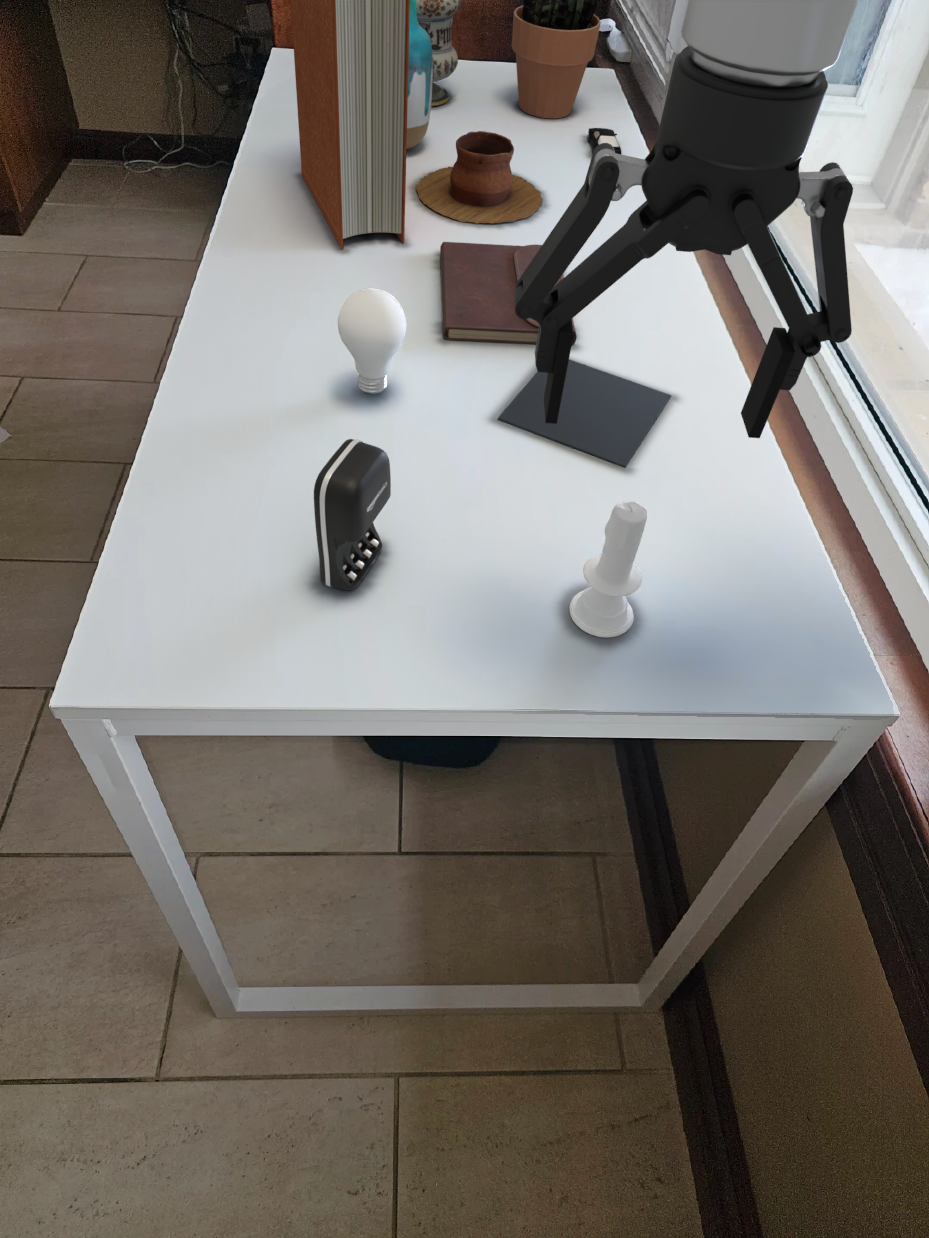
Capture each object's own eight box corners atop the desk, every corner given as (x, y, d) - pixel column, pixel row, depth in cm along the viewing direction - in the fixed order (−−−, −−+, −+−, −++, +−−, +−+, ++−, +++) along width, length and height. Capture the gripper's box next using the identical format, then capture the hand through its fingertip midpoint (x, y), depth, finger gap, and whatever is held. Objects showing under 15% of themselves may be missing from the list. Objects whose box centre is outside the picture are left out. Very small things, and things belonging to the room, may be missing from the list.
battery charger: (359, 601, 71) (356, 496, 62) (317, 586, 72) (309, 480, 63) (394, 547, 75) (397, 441, 67) (355, 533, 76) (352, 427, 67)
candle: (560, 624, 71) (587, 516, 62) (580, 581, 74) (608, 473, 65) (623, 647, 70) (659, 540, 61) (640, 602, 73) (677, 495, 64)
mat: (671, 396, 93) (671, 395, 93) (625, 467, 85) (625, 466, 85) (552, 355, 97) (552, 353, 96) (497, 419, 88) (497, 417, 88)
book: (404, 243, 111) (411, -44, 88) (341, 250, 108) (332, -44, 86) (356, 168, 124) (351, -99, 101) (299, 172, 122) (282, -100, 99)
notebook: (442, 339, 97) (443, 323, 95) (440, 253, 110) (440, 238, 108) (575, 346, 98) (578, 330, 97) (557, 260, 111) (559, 245, 109)
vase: (396, 126, 135) (398, -22, 121) (444, 149, 131) (452, -2, 116) (344, 142, 130) (339, -11, 115) (392, 167, 125) (394, 11, 111)
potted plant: (507, 89, 149) (526, -96, 130) (586, 99, 149) (616, -85, 130) (501, 119, 140) (520, -75, 121) (585, 129, 140) (617, -63, 121)
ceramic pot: (565, 215, 120) (574, 161, 114) (450, 233, 114) (453, 177, 108) (505, 161, 130) (510, 110, 124) (395, 175, 124) (396, 122, 118)
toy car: (585, 135, 139) (588, 117, 136) (610, 137, 139) (613, 118, 137) (594, 161, 132) (597, 142, 130) (620, 163, 132) (624, 144, 130)
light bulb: (332, 405, 88) (328, 305, 79) (349, 369, 92) (346, 270, 84) (397, 415, 87) (399, 316, 79) (410, 378, 92) (413, 281, 83)
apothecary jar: (464, 109, 142) (473, -24, 128) (392, 111, 139) (393, -25, 125) (444, 82, 149) (451, -46, 136) (376, 83, 146) (376, -48, 133)
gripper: (975, 55, 45) (818, 398, 61) (498, 11, 44) (466, 372, 60) (1034, 110, 40) (847, 467, 56) (499, 61, 39) (464, 440, 55)
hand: (650, 419), depth 58 cm, fingers open, 13 cm apart
